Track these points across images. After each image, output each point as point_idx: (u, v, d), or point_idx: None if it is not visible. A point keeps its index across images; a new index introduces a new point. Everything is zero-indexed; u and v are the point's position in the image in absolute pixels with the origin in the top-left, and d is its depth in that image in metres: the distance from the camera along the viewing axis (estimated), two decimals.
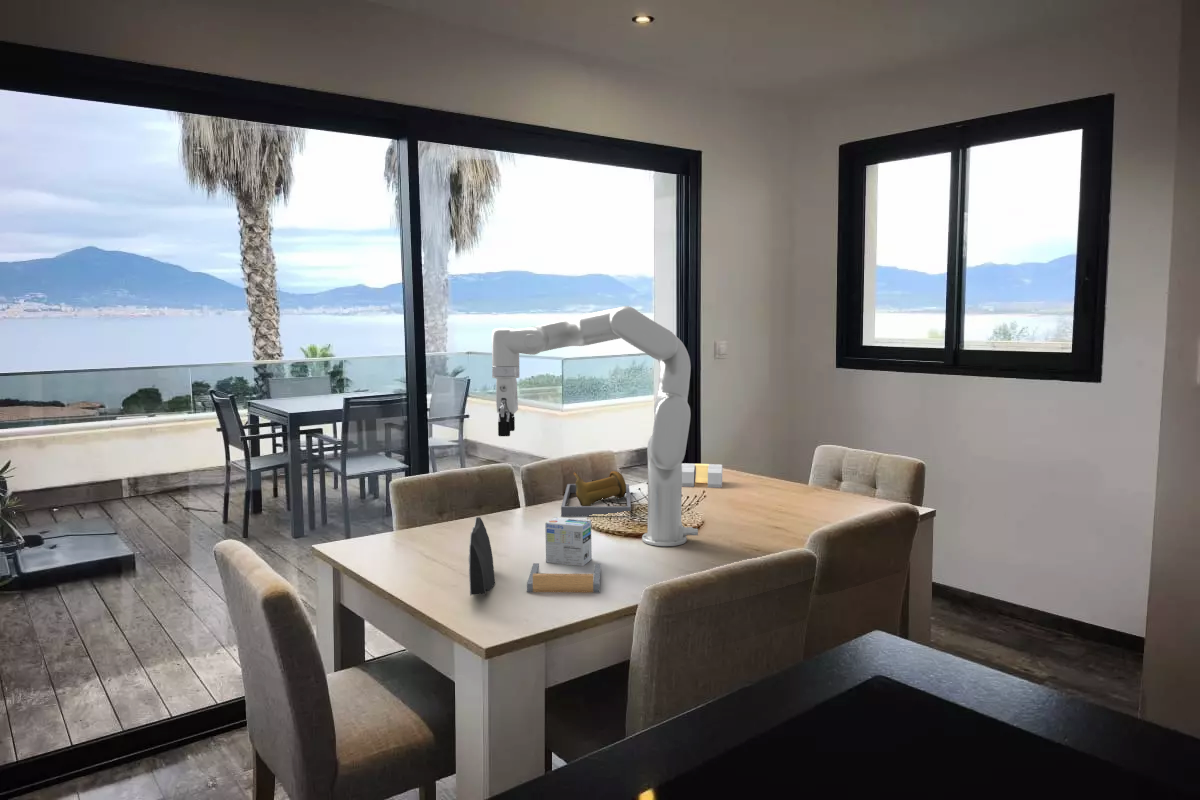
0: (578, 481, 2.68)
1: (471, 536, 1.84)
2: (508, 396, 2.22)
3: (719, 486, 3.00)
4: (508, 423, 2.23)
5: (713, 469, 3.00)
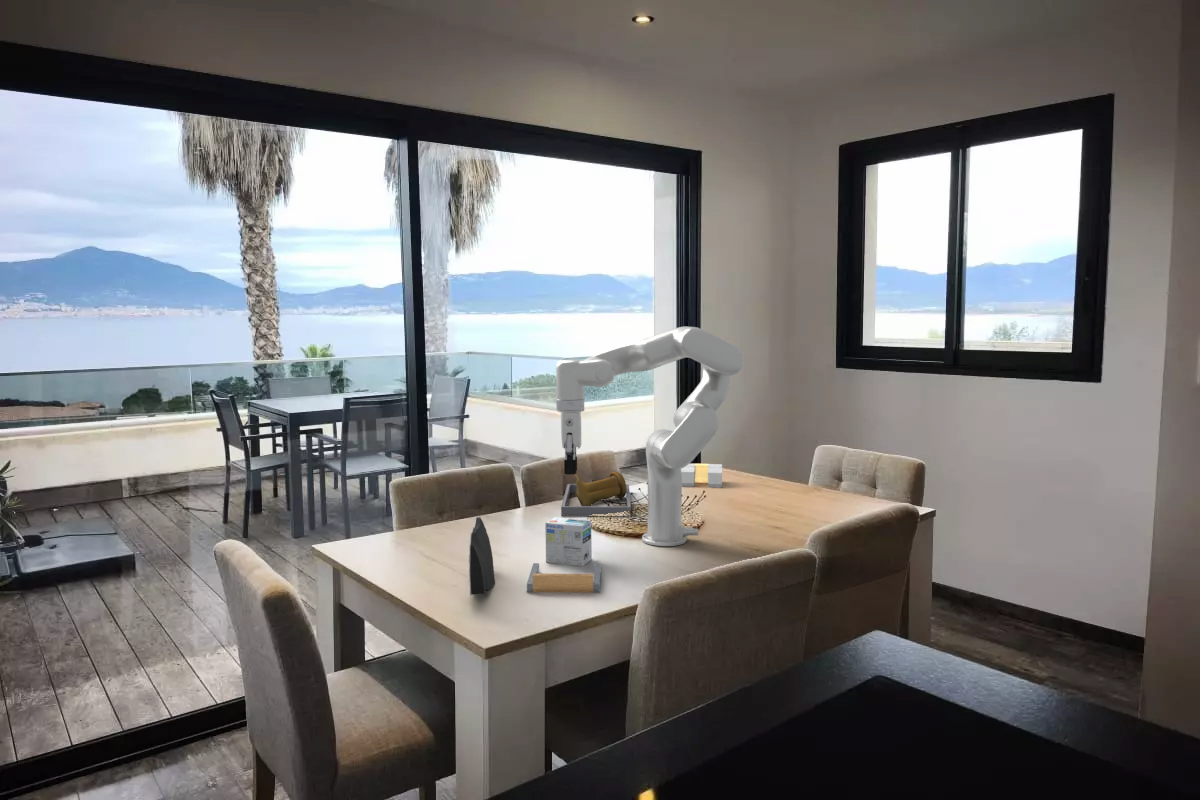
0: (578, 481, 2.67)
1: (471, 536, 1.84)
2: (574, 431, 2.16)
3: (719, 486, 3.00)
4: (574, 461, 2.19)
5: (713, 469, 3.01)
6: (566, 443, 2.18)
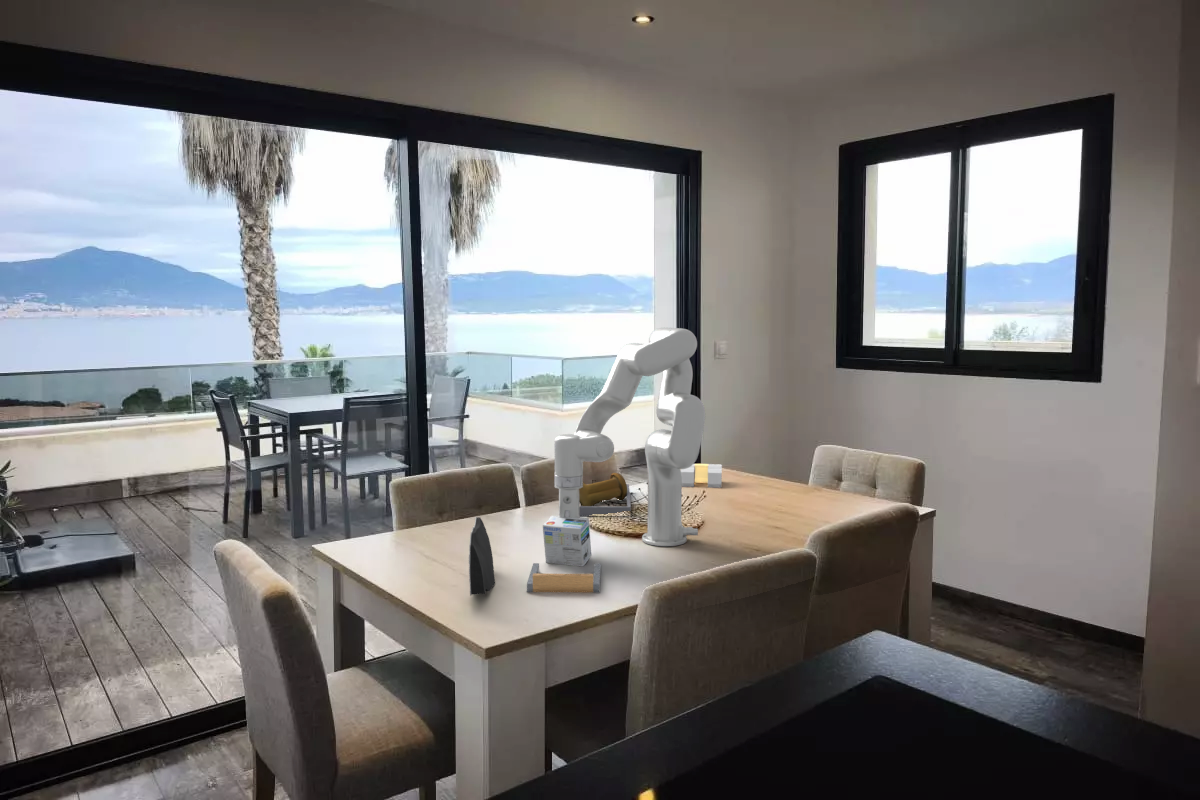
0: None
1: (471, 536, 1.84)
2: (572, 508, 2.12)
3: (719, 486, 3.00)
4: None
5: (713, 469, 3.00)
6: None
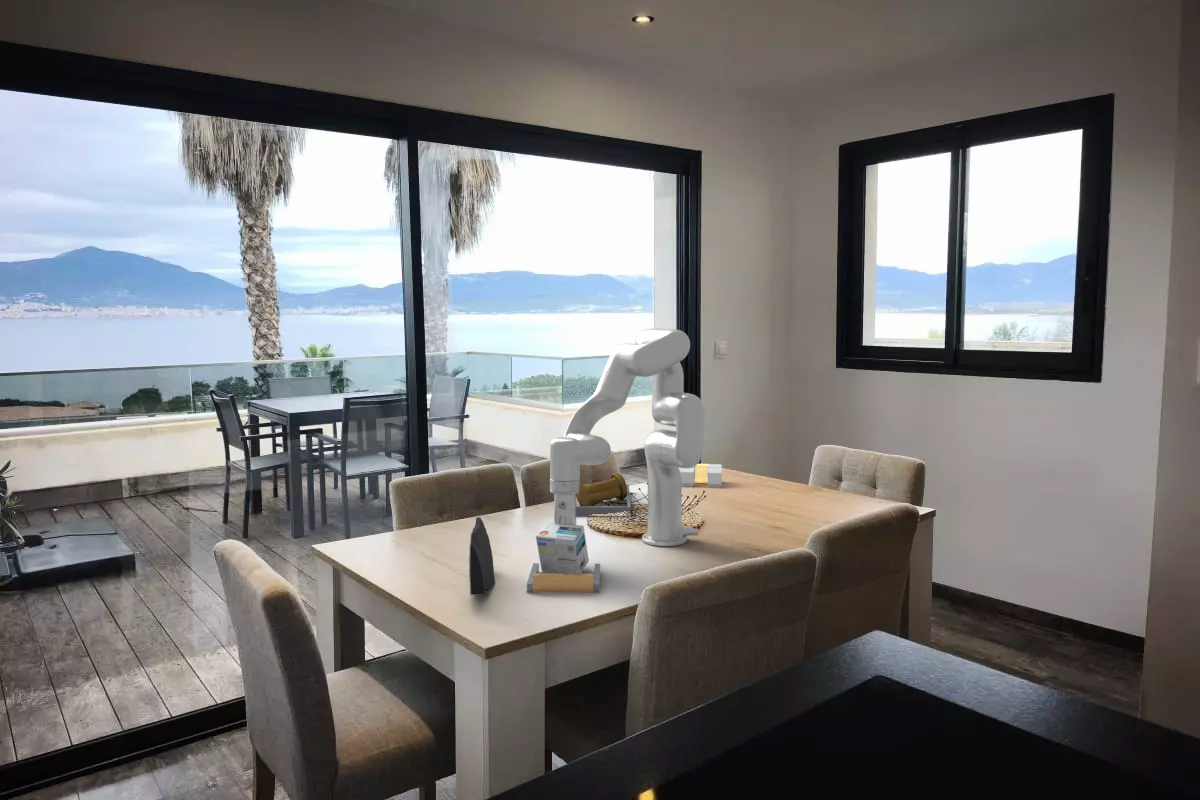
0: None
1: (471, 536, 1.84)
2: (567, 514, 2.04)
3: (719, 486, 3.00)
4: None
5: (713, 469, 3.00)
6: None
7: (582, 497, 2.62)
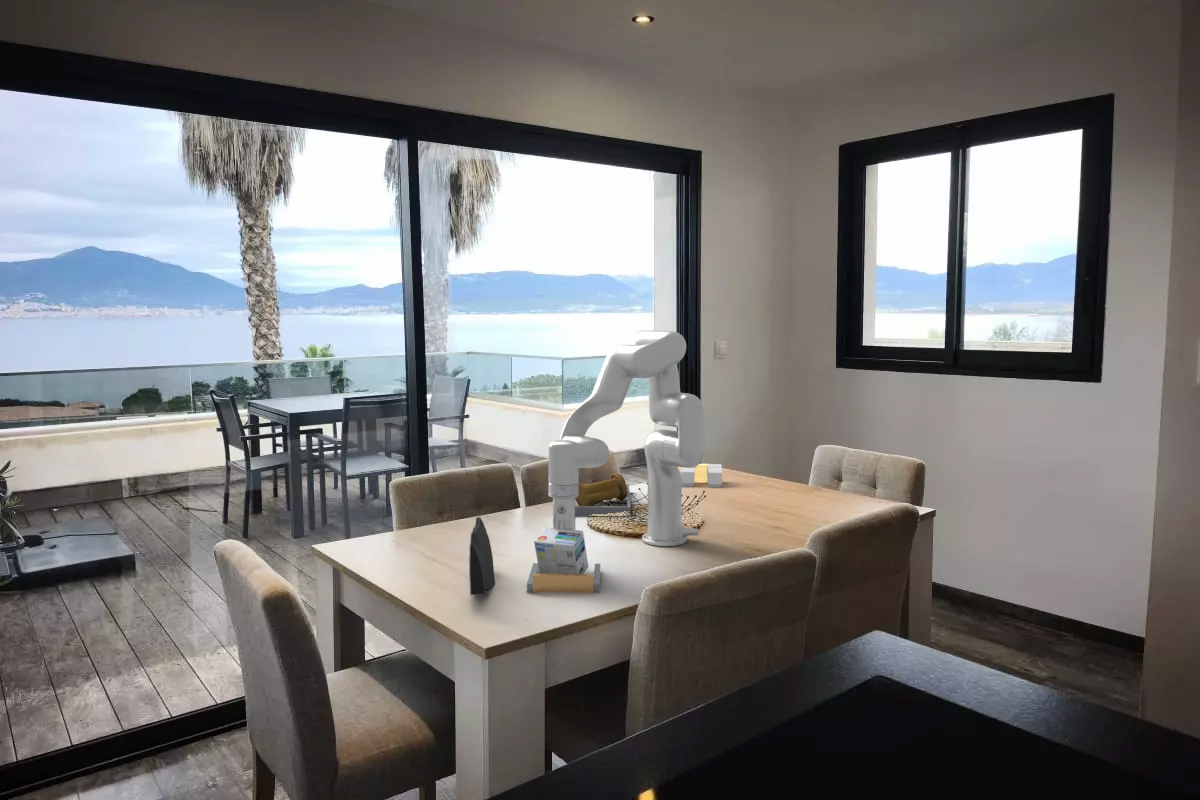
0: None
1: (471, 536, 1.84)
2: (567, 519, 1.99)
3: (719, 486, 3.00)
4: None
5: (713, 469, 3.01)
6: None
7: (581, 497, 2.62)
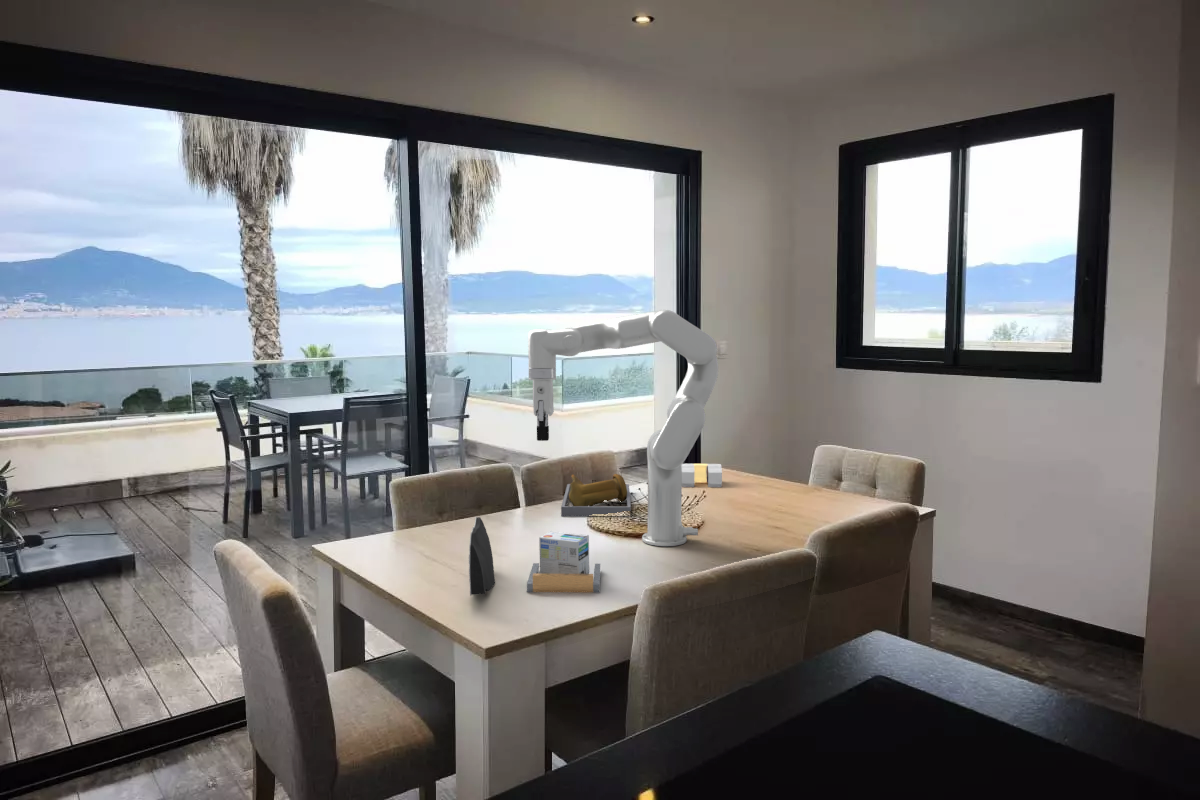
0: (573, 483, 2.64)
1: (471, 536, 1.84)
2: (545, 398, 2.21)
3: (719, 485, 3.01)
4: (547, 427, 2.26)
5: (713, 469, 3.01)
6: (538, 412, 2.23)
7: (575, 497, 2.62)
